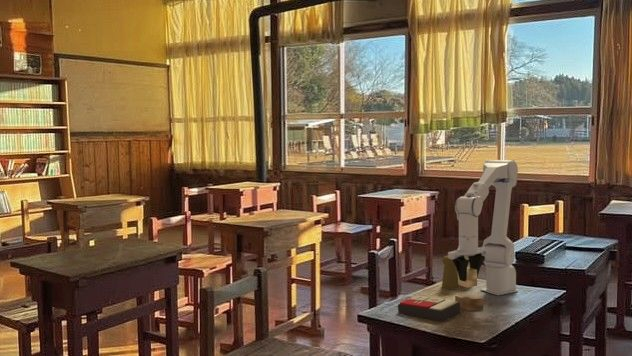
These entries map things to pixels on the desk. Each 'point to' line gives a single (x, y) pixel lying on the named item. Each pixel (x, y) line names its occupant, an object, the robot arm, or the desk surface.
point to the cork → (449, 274)
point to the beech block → (469, 278)
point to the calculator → (429, 308)
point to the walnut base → (469, 301)
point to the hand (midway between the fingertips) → (468, 279)
